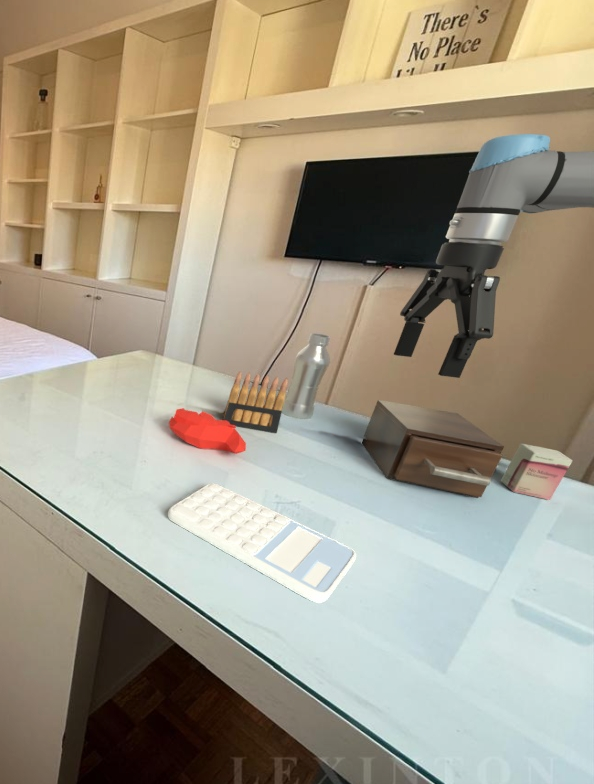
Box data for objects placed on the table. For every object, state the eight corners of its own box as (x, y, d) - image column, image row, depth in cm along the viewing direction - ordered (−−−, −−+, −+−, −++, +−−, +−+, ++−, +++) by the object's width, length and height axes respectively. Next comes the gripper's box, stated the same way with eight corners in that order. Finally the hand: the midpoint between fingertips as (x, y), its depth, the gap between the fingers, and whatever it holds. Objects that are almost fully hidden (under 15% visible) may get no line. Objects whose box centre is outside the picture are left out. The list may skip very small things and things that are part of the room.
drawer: (496, 511, 71) (520, 467, 68) (405, 491, 75) (424, 449, 72) (441, 459, 87) (459, 422, 85) (370, 445, 91) (384, 409, 89)
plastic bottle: (312, 421, 104) (340, 336, 97) (306, 429, 99) (335, 340, 92) (281, 412, 108) (306, 330, 101) (273, 420, 103) (299, 334, 96)
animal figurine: (233, 468, 80) (240, 442, 78) (159, 436, 90) (163, 413, 89) (260, 451, 87) (267, 427, 86) (188, 423, 98) (193, 401, 96)
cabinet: (478, 498, 76) (504, 446, 73) (386, 478, 81) (407, 428, 77) (437, 458, 90) (457, 413, 87) (360, 443, 94) (377, 399, 91)
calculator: (209, 489, 73) (212, 479, 72) (356, 561, 59) (361, 549, 58) (163, 518, 64) (166, 507, 64) (321, 609, 50) (327, 596, 50)
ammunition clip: (222, 423, 99) (236, 371, 95) (221, 420, 101) (234, 369, 96) (276, 433, 96) (293, 380, 92) (274, 429, 98) (290, 377, 94)
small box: (511, 492, 79) (533, 452, 76) (499, 481, 83) (519, 442, 80) (551, 501, 77) (574, 460, 74) (536, 489, 81) (558, 449, 78)
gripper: (404, 239, 87) (366, 346, 94) (506, 242, 64) (445, 383, 72) (449, 242, 86) (407, 351, 93) (569, 246, 63) (501, 390, 70)
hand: (423, 365), depth 82 cm, fingers open, 13 cm apart
